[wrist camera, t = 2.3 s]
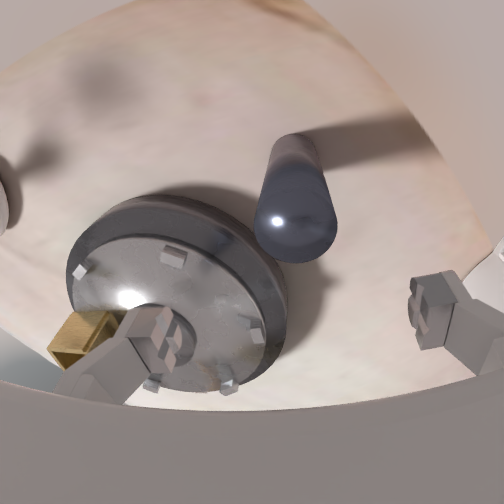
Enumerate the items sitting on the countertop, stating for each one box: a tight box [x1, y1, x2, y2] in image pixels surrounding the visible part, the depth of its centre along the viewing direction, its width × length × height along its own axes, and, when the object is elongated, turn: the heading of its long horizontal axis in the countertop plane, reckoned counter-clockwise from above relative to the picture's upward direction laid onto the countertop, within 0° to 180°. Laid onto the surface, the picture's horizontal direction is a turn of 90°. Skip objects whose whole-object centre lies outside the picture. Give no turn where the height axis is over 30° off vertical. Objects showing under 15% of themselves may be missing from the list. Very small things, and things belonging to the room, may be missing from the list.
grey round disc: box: [47, 233, 266, 396], centre depth 30 cm, size 22×22×7 cm
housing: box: [66, 195, 287, 393], centre depth 35 cm, size 26×26×4 cm
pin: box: [254, 134, 337, 263], centre depth 21 cm, size 4×4×14 cm
